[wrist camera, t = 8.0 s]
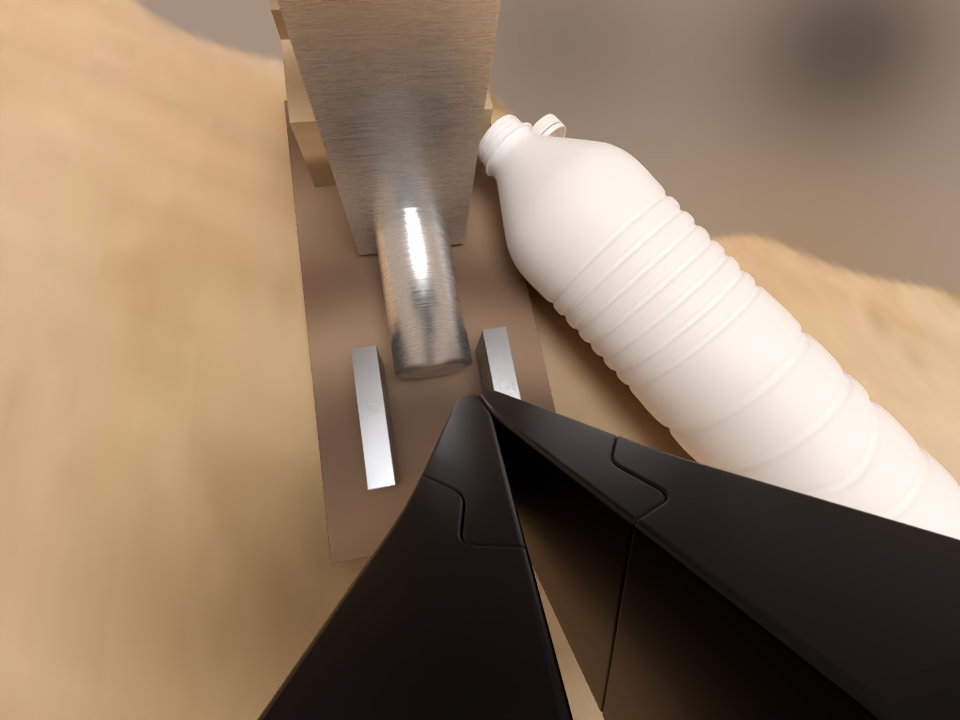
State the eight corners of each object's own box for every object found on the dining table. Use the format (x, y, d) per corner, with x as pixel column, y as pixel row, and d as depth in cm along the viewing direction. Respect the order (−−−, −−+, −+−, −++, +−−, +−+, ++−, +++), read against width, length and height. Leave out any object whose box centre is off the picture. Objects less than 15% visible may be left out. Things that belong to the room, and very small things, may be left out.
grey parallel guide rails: (516, 460, 19) (532, 458, 16) (378, 487, 18) (368, 489, 15) (494, 348, 20) (505, 326, 17) (362, 368, 19) (350, 348, 16)
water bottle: (1076, 639, 13) (496, 51, 15) (838, 663, 17) (415, 200, 19) (982, 467, 19) (587, 76, 22) (828, 516, 24) (512, 183, 26)
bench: (568, 509, 20) (632, 525, 14) (337, 558, 18) (290, 602, 12) (480, 106, 25) (497, -17, 18) (291, 119, 23) (241, -10, 17)
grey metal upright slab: (493, 368, 19) (612, 172, 7) (372, 388, 19) (251, 206, 6) (444, 119, 22) (462, -344, 10) (337, 126, 22) (207, -366, 9)
